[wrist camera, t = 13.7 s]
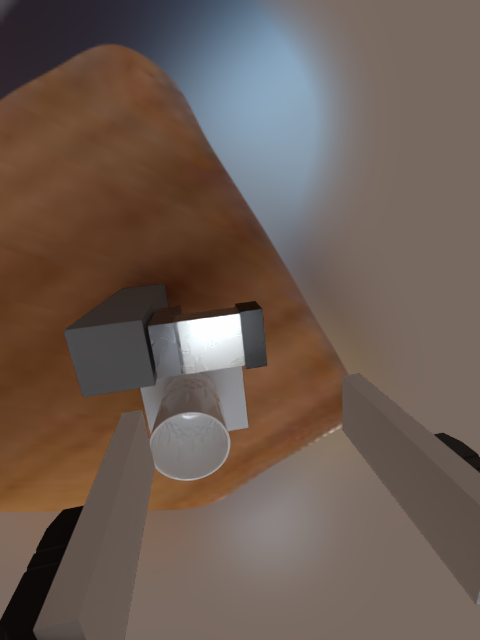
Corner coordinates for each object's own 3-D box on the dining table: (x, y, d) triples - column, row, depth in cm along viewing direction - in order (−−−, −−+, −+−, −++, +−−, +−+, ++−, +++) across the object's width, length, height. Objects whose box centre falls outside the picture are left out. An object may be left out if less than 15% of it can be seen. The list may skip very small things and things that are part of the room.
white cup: (151, 376, 36) (136, 425, 27) (213, 359, 37) (219, 402, 27) (170, 427, 39) (161, 490, 29) (227, 411, 39) (238, 467, 30)
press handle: (165, 354, 26) (158, 383, 21) (156, 306, 24) (146, 324, 19) (253, 341, 27) (267, 365, 22) (249, 294, 25) (262, 309, 20)
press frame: (154, 437, 40) (130, 559, 25) (121, 288, 34) (63, 330, 19) (246, 420, 42) (276, 526, 27) (230, 275, 36) (257, 304, 21)
